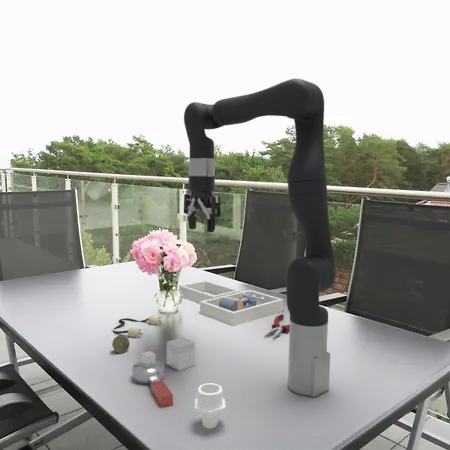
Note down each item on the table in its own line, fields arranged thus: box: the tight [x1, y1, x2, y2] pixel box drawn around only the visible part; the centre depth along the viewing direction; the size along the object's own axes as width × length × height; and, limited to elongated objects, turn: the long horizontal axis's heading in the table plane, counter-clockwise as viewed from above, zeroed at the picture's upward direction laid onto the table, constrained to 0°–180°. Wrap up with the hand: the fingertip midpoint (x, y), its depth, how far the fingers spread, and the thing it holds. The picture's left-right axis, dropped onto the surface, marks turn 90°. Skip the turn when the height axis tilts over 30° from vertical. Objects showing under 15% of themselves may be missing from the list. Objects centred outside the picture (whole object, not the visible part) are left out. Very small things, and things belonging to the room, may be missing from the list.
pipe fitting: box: [194, 382, 226, 430], centre depth 96 cm, size 6×7×8 cm
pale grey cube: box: [166, 336, 196, 372], centre depth 125 cm, size 6×6×6 cm
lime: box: [111, 334, 130, 354], centre depth 134 cm, size 4×5×5 cm
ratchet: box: [132, 350, 174, 408], centre depth 112 cm, size 20×8×6 cm, turn 25°
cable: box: [112, 314, 163, 339], centre depth 154 cm, size 16×16×4 cm
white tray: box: [199, 289, 285, 327], centre depth 173 cm, size 18×26×4 cm
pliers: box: [264, 313, 290, 339], centre depth 154 cm, size 12×21×3 cm, turn 147°
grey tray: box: [178, 280, 241, 304], centre depth 190 cm, size 22×14×4 cm, turn 42°
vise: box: [219, 293, 265, 312], centre depth 173 cm, size 18×10×7 cm, turn 141°
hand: (201, 230), depth 133 cm, fingers open, 8 cm apart
